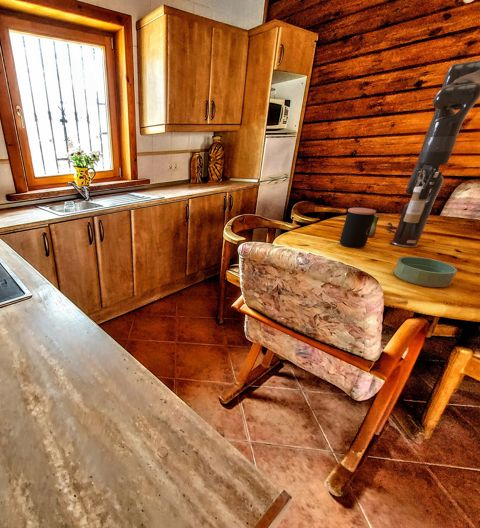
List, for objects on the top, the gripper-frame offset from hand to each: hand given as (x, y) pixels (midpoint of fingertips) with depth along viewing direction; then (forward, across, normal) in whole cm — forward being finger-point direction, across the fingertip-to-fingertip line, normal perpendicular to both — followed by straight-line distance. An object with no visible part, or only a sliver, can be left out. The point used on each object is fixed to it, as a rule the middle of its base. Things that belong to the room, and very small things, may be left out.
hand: (419, 197), depth 105 cm
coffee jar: (+29, +23, +11) cm, 39 cm away
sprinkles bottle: (+10, 0, 0) cm, 10 cm away
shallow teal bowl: (+29, -10, -5) cm, 31 cm away
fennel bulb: (+28, +42, +1) cm, 50 cm away
